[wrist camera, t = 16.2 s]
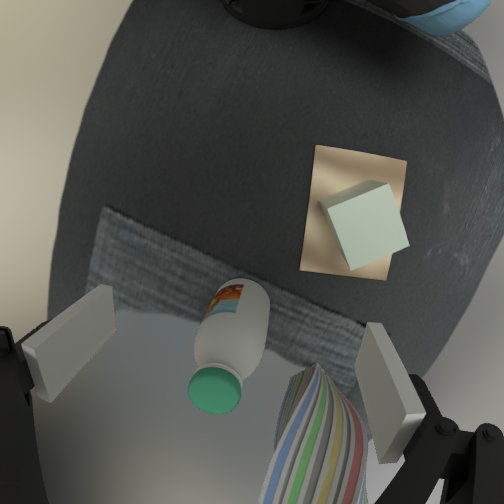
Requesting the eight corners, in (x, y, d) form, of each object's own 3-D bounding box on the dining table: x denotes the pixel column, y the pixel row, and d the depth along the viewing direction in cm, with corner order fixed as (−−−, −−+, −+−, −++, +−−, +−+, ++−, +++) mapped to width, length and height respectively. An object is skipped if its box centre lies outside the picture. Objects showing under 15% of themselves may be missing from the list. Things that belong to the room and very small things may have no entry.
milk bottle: (268, 275, 43) (254, 362, 23) (272, 326, 45) (261, 428, 25) (212, 277, 44) (160, 359, 24) (218, 327, 46) (179, 424, 26)
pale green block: (339, 250, 40) (350, 270, 32) (318, 200, 38) (326, 208, 31) (387, 230, 38) (409, 245, 31) (369, 179, 37) (389, 183, 29)
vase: (326, 328, 44) (359, 520, 15) (368, 384, 46) (410, 547, 17) (251, 371, 47) (217, 549, 18) (299, 420, 49) (297, 577, 20)
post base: (315, 145, 37) (320, 141, 31) (404, 161, 37) (423, 161, 31) (299, 268, 42) (301, 285, 36) (384, 278, 41) (398, 296, 35)
